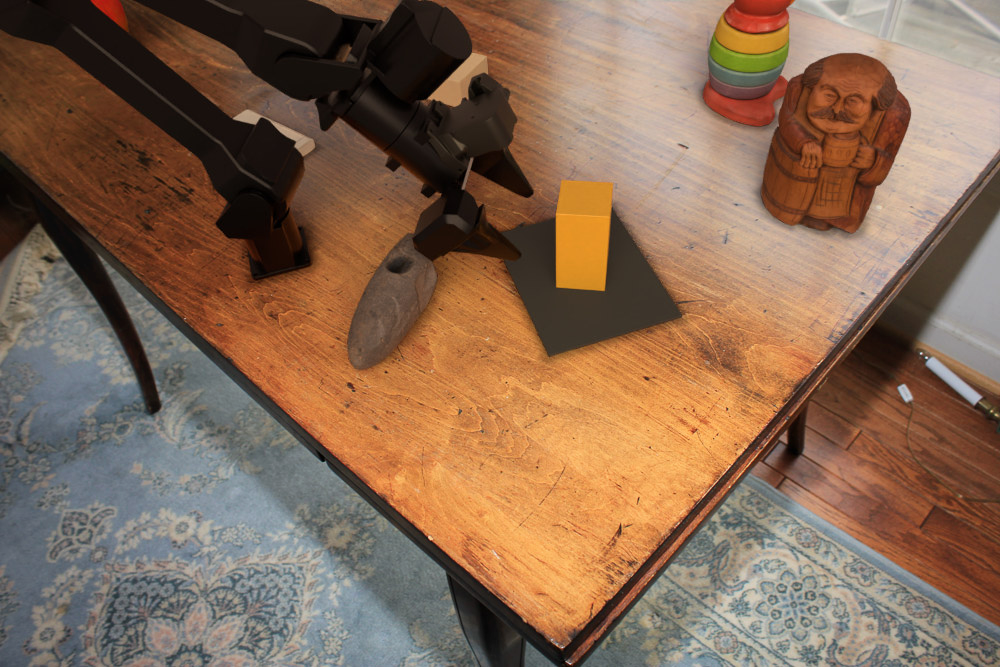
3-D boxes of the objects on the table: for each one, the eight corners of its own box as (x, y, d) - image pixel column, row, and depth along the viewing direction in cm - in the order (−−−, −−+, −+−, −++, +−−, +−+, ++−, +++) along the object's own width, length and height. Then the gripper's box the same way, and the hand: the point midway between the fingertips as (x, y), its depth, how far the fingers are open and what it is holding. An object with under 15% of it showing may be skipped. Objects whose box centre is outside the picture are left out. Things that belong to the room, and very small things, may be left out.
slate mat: (681, 317, 73) (682, 315, 73) (548, 357, 71) (548, 354, 71) (609, 205, 84) (609, 203, 84) (492, 237, 82) (492, 234, 82)
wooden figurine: (749, 217, 82) (788, 68, 68) (760, 182, 85) (799, 34, 72) (863, 242, 78) (928, 90, 64) (869, 204, 82) (933, 53, 68)
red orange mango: (68, 69, 111) (24, -10, 102) (109, 39, 116) (70, -39, 107) (116, 79, 109) (75, -1, 99) (156, 48, 114) (120, -31, 105)
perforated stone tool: (381, 391, 70) (366, 345, 64) (334, 374, 71) (316, 328, 66) (453, 283, 78) (445, 234, 73) (409, 270, 80) (399, 221, 74)
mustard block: (555, 287, 76) (555, 213, 69) (561, 253, 79) (561, 179, 72) (604, 291, 75) (610, 217, 68) (608, 257, 79) (613, 182, 71)
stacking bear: (768, 130, 91) (805, -14, 78) (689, 112, 95) (711, -29, 81) (791, 85, 97) (829, -56, 84) (715, 69, 101) (740, -69, 87)
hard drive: (199, 139, 95) (264, 171, 90) (248, 107, 99) (312, 136, 94) (204, 149, 96) (268, 182, 91) (252, 118, 100) (316, 147, 95)
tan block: (462, 109, 98) (459, 82, 95) (419, 96, 101) (414, 70, 98) (489, 82, 102) (487, 55, 99) (446, 71, 105) (443, 44, 102)
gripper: (432, 137, 56) (575, 253, 63) (475, 14, 67) (592, 123, 74) (353, 211, 63) (489, 308, 70) (405, 87, 74) (517, 181, 81)
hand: (525, 225), depth 74 cm, fingers open, 9 cm apart
